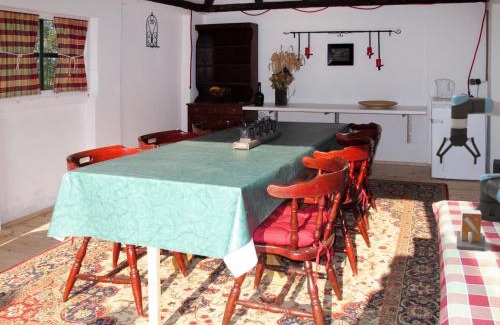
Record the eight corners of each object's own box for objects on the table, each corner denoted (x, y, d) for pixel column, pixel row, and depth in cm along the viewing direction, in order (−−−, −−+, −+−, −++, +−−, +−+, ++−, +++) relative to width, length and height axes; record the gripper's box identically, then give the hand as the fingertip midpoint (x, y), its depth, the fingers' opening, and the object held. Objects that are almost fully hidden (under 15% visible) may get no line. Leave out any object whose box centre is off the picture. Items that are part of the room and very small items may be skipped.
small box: (461, 240, 248) (462, 213, 246) (460, 236, 254) (461, 209, 252) (480, 241, 246) (481, 213, 244) (479, 237, 252) (480, 210, 250)
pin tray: (457, 233, 262) (457, 221, 261) (482, 235, 258) (482, 222, 257) (456, 248, 242) (457, 235, 241) (483, 250, 238) (484, 237, 237)
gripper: (486, 126, 262) (485, 169, 266) (431, 126, 271) (431, 168, 275) (487, 128, 256) (485, 172, 259) (431, 128, 264) (430, 171, 268)
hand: (457, 170), depth 267 cm, fingers open, 13 cm apart
